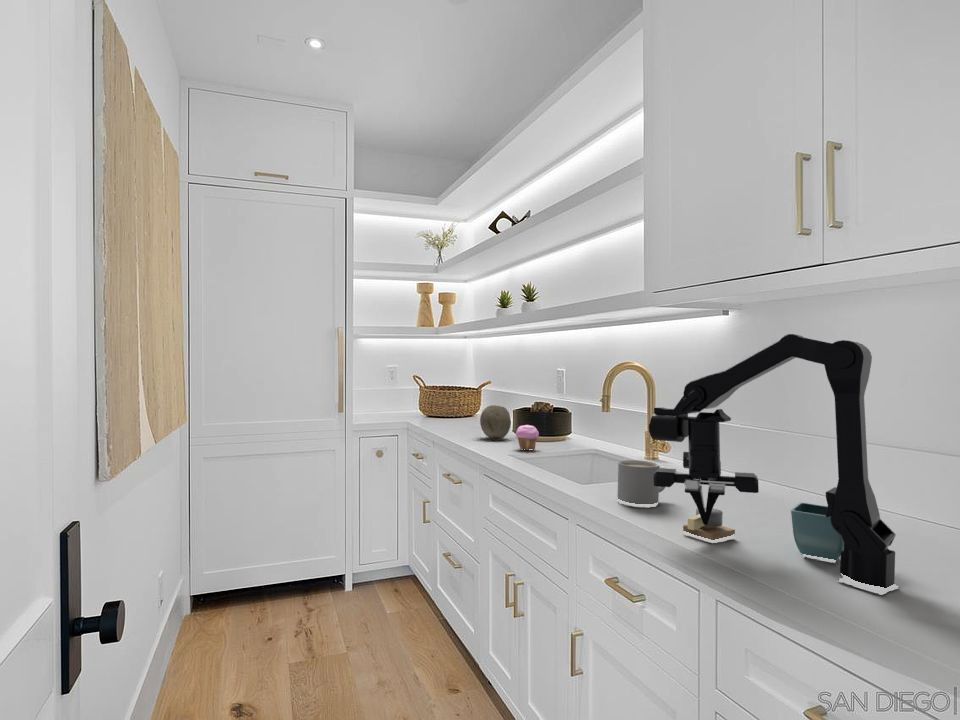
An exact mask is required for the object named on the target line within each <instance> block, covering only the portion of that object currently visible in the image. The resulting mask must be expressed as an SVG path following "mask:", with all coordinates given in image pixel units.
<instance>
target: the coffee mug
mask: <svg viewBox="0 0 960 720" xmlns="http://www.w3.org/2000/svg"><path fill="white" fill-rule="evenodd" d="M617 467H618V469H617V471H618V472H617V495H616V496H617V497H618V499H620V500H622V501H625V502H629V503H635V504H654V503H657V502H658V503H659V498H660V497H659V495H660V494H659V493H662V492H663V491H664V490H665V488H666V487H659V486H654V473H655V472H656V470H657V469H659V468H660V464H659V463H657V462H654V461H649V460H640V459H623V460H619V461H618V466H617Z"/></svg>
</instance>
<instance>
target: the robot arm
mask: <svg viewBox="0 0 960 720" xmlns="http://www.w3.org/2000/svg"><path fill="white" fill-rule="evenodd" d="M872 357H873V356H872V352H871V351H870V349H869V348H868V347H867V346H865V344H863V343H860V342H858V341H852V340H846V339H845V340H844V339H843V340H836V341H834V342H833V343H831V342H826V341H822V340H818V339H812V338H808V337H804V336H802V335H799V334H794V333H789V334H785V335H782V337H780V339H778V340H777V341H775V342H773V343H772V344H769V345H768V346H766V347H764V348H763V349H761V350H759V351H757V352H754V353H753V354H752V355H749V356H748V357H746V358H744V359H742V360H740V361H739V362H737V363H735V364H734V365H732V366H730V367H728V368H726V369H725V370H722V371H719V372H716V373H712V374H709V375H705V376H703V377H699V378H697V379H693V380H691V381H689V382H688V383H686V385H685V386H684V390H683V395H682V397H681V398H680V400H679V401H678V403H676V405H675V406H674V408H666V407H663V406H662V407H660V406H659V407H658V406H657V407H654V408H653V414H652V415H651V418H650V421H649V423H648V433H649V436H650V437H651V439H652V440H654V441H663V442H675V443H676V442H677V443H682V442H684V440H685V439H686V438H688V439H687V441H688V451H683V452H682V453H683V454H682V467H683V468H684V469H688V473H679V472H678V473H677V469H676V468H667V467H666V468H661V467H659V469H657V470H656V472H655V473H654V486H659V487H665V488H671V487H672V486H673V485H674V484H684V486H685V488H684V492H685V493H687V494H690V496H691V498H692V500H693V501H694V503H695V506H696V509H697V508H698V511H699V513H700V516H701V519H702V521H703V524H704V525H707V524H708V521H709V518H710V515H711V512H712V509H714V506H715V504H716V502H717V500H718V499H719V496H725V495H726V494H725V493H726V487H735V489H736V490H737V491H739V493H747V494H748V493H752V494H759V478H758V476H757V475H756V474H755V473H753V472H737V471H735V472H734V476H729V475H726V476H725V475H722V471H721V470H722V469H721V468H722V462H721V442H720V438H721V437H720V436H721V435H720V423H726V422H731V420H732V417H730V415H728V414H727V413H725V412H724V410H723V409H722V408H719V409H716V410H715V411H714V412H704V411H703V410H709V409H715V408H717V407H718V406H719V407H720V405H721V404H722V403H724V402H725V401H727V399H729V398H731V397H732V395H733V394H734V393H735V392H736V391H737V390H738V389H740V388H742V387H743V386H745V385H747V384H748V383H750V382H752V381H755V380H756V379H758V378H760V377H762V376H764V375H766V374H767V373H769V372H771V371H773V370H775V369H777V368H779V367H781V366H783V365H785V364H786V363H788V362H791V361H792V360H794V359H796V358H797V359H800V360H805V361H808V362H812V363H816V364H820V365H824V369H825V374H826V378H827V380H828V383H829V385H830V388H831V390H832V392H833V396H834V397H833V398H834V409H835V410H834V411H835V413H834V414H835V415H834V416H835V431H836V433H835V434H836V449H837V450H836V454H837V455H836V456H837V457H836V458H837V474H838V475H837V476H838V479H837V485H836V486H834V487H832V488H831V489H829V490H827V491H825V500H826V503H827V506H828V511H827V514H826V517H830V516H831V519H830V520H831V524H832V526H833V528H834V529H835V530H836V531H837V532H838V533H839V534H840V535H842V538H843V541H844V550H843V551H841V554H840V557H839V558H840V560H839V561H840V563H839V574H840V573H842V574H843V575H846V576H848V577H850V578H851V579H853V580H855V581H858V582H861V583H865V584H869V585H874V586H880V587H884V588H887V587H889V586H891V585H893V584H895V577H896V576H895V571H896V570H895V569H896V567H895V566H896V551H894V550H891V549H889V547H890V546H891V545H892V543H894V540H895V538H896V533H895V532H894V531H893V530H892V529H891V528H890V527H889V526H888V525H887V524H886V523H885V522H884V521H883V520H882V518H881V515H880V511H879V508H878V507H879V506H878V503H877V500H876V496H875V493H874V491H873V488H872V485H871V483H870V480H869V470H868V469H869V467H868V452H867V451H868V450H867V430H866V429H867V427H866V411H865V393H866V389H867V387H868V386H867V385H868V383H869V379H870V373H871V368H872V361H873V358H872ZM702 411H703V412H702ZM689 414H697V415H696V416H689ZM703 485H705V486H706V485H708V490H707V498H706V506H705V502H704V494H703ZM705 508H706V513H705Z"/></svg>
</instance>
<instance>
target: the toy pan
mask: <svg viewBox="0 0 960 720" xmlns="http://www.w3.org/2000/svg"><path fill="white" fill-rule="evenodd" d="M705 513H706V507H705ZM687 524H688V529H690V530H695V529H698V528H700V527H702V526H704V524H703V521H702V519H701V516H700V513H699V511H698V508H697V507H696V509H695V515H693V516H691V517H688V518H687ZM705 526H713V527H717V526H723V511H722V510H720V509H718V508H713V509H712V512H711V515H710V518H709V521H708V524H707V525H705Z"/></svg>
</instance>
